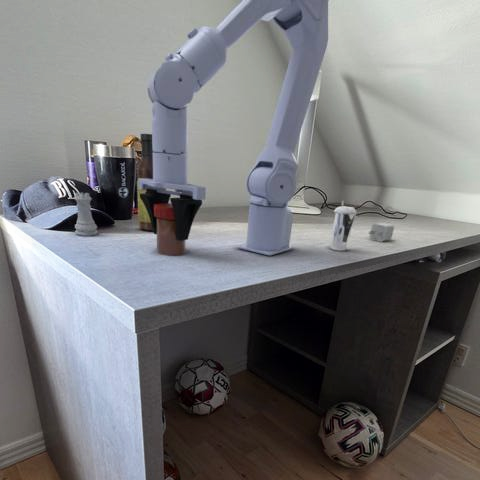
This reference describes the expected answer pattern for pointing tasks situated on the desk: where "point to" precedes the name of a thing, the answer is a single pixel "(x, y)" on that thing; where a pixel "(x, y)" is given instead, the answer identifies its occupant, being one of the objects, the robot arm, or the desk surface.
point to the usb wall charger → (381, 232)
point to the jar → (168, 238)
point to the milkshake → (342, 226)
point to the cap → (164, 211)
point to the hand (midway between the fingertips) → (170, 236)
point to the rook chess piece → (84, 216)
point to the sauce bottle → (145, 172)
